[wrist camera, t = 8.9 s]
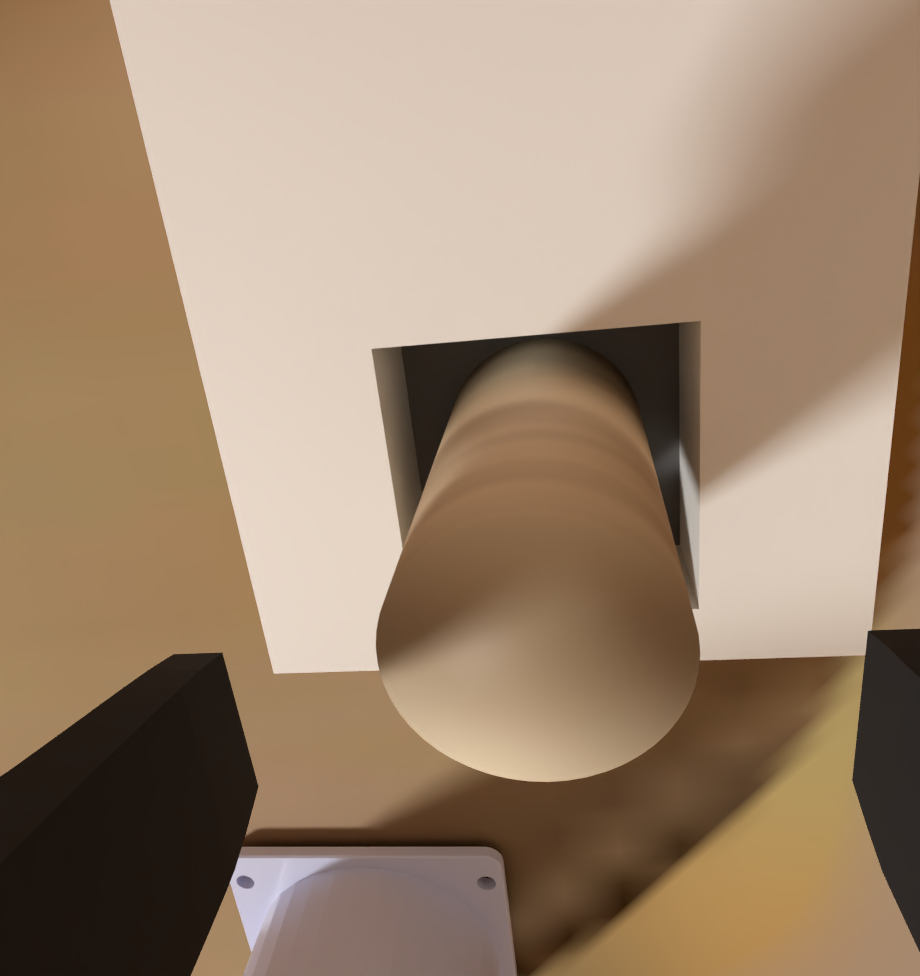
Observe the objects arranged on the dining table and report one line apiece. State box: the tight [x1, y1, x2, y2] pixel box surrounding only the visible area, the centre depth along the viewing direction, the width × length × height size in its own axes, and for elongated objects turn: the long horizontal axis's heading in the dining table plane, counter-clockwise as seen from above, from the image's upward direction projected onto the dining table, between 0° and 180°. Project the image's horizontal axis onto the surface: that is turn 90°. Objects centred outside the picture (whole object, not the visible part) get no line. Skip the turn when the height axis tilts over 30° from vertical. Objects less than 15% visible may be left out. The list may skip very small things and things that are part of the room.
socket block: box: [110, 0, 920, 674], centre depth 12 cm, size 18×13×8 cm
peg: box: [376, 339, 700, 782], centre depth 14 cm, size 4×4×8 cm
